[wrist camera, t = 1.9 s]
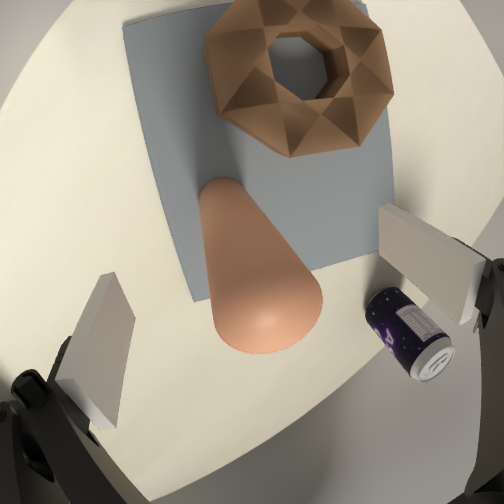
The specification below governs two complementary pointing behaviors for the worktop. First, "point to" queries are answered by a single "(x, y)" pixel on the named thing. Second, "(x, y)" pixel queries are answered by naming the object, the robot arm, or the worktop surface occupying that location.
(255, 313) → the tan round-topped peg
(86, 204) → the worktop surface
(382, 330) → the beverage can
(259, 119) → the bead
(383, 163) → the mat
